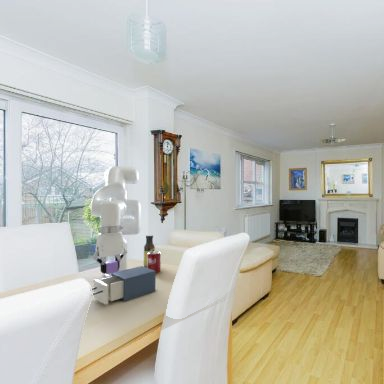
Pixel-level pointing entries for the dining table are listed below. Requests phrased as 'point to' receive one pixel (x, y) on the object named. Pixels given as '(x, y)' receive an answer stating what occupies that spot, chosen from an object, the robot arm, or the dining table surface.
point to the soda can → (154, 261)
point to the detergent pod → (111, 266)
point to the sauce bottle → (148, 248)
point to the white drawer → (108, 289)
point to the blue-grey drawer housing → (136, 281)
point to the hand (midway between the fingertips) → (110, 271)
